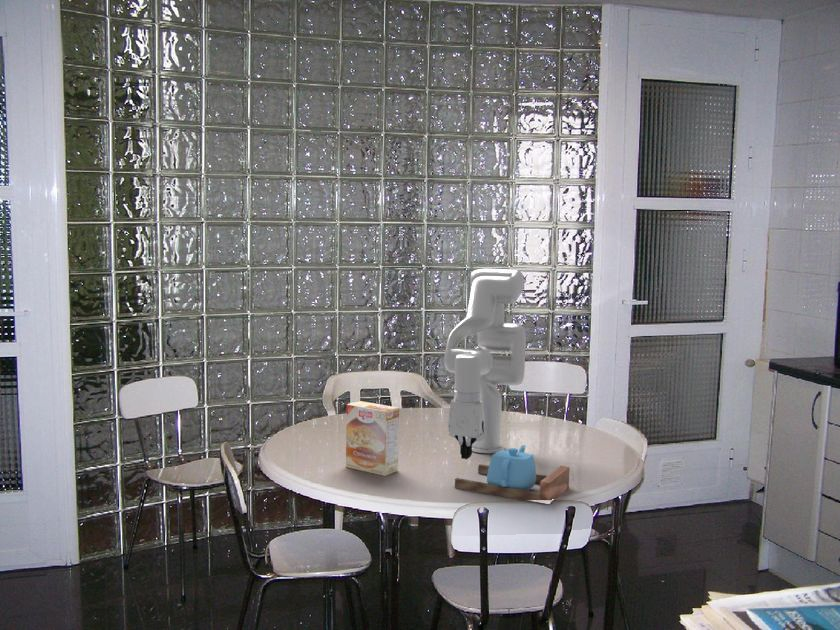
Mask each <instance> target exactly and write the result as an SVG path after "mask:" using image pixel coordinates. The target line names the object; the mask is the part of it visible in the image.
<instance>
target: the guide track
mask: <svg viewBox="0 0 840 630" xmlns="http://www.w3.org/2000/svg"><path fill="white" fill-rule="evenodd" d="M489 465H490V464H489ZM489 465H487V464H481V463H479V464H478V465H477V467H478V468H477V469H478V470H477V471H478V472H477V473H478V474H482V475H487V474H488V468H489ZM535 484H539V486H540V487H539V492H538V491H532V490H529V491H527V490H522V489H516V488H510V487H502V486H499V485H494V484H488V483H487V482H482V481H477V480H472V479H471V480H470V479H464V478H461V477H460V478H459V477H456V478H454V488H456V489H460V490H466V491H471V492H477V493H482V494H485V495H486V494H487V495H493V496H498V497H503V498H509V499H515V500H520V501H524V500H552V499H555V500H556V499H557V498H559V496H561V495H562V494H563V493H564V492H565V491H567V490H568V489H569V488H570V487H569V485H570V466H565V465H560V466H558V467H557V468H556V469H555V470H553V471H552V472H550V474H547V475H546V474H541V473H536V482H535Z"/></svg>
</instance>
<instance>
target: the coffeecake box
mask: <svg viewBox="0 0 840 630" xmlns="http://www.w3.org/2000/svg"><path fill="white" fill-rule="evenodd" d="M345 430H346V431H345V432H346V434H345V435H346V437H345V438H346V439H345V467H346V468H347V469H353V470H357V471H361V472H366V473H370V474H374V475H378V476H383V477H386V476H390V475H391V474H393V473H396V472H398V471H399V444H400V443H399V442H400V441H399V434H400V407H397V406H392V405H391V406H390V405H386V404H379V403H373V402H368V401H362V400H359V401H354V402H349V403H346V429H345Z"/></svg>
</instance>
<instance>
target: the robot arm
mask: <svg viewBox="0 0 840 630" xmlns="http://www.w3.org/2000/svg"><path fill="white" fill-rule="evenodd" d="M470 285H471V287H470V294H469V298H468V305H467V311H466V316H465V317H464V319H462V320H461V321H460V322H459V323H457V325H455V327H453V329H452V330H451V332H450V333H449V335H448V338H447V340H446V344H445V345H446V346H445V349H444V350H445V351H444V357H443V359H444V360H443V365H444V368H445V370H446V371H448V372H449V373H454V389H453V390H450V392H449V395H450V396H453V398H452V400H451V401H450V405H449V410H448V418H447V432H448V435H449V436H450V437H452V438H455V440H456V441H457V442H458V444H459V447H460V449H459V450H460V451H459V452H460V456H461V459H463V460H469V458H471V456H472V454H473V453H479V454H495V453H496V452H498V451H500V450H505V447H506V446H505V445H504V444H503V443H501V433H502V432H501V427H502V403H503V401H502V399H503V397H502V395H501V393H500V391H499V389H498V388H497V387H496V385H497V386H498V385H499V386H500V385H501V386H502V385H503V386H519V385H521V384H523V382H524V378H525V365H526V350H527V349H526V347H527V334H526V330H525V327H524V326H523V325H522V324H519V323H516V322H515V323H513V322H505V313H506V312H505V310H506V308H505V306H504V304H506V305H509V304H510V305H511V304H514V303H515V304H516V302H517V300H518V299H519V297H520V295H521V294H522V292H523V289H524V285H525V278H524V275H523V273H522V272H521V270H518V269H509V268H503V269H502V268H479V269H475V270H473V271H472V272H471V274H470ZM474 334H477V345H478V347H479V348H468V347H467V348H465V347H458V346H459V344H460V343H461V342H462V341H463V340H464V339H466V338H467V337H469V336H472V335H474ZM490 351H492V352H501V353H502V352H503V353H504V352H506V353H509V354H511V356H510V355H500V354H499V355H498V354H497V355H496V354H492V353H491V352H490Z"/></svg>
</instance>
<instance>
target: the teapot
mask: <svg viewBox="0 0 840 630" xmlns="http://www.w3.org/2000/svg"><path fill="white" fill-rule="evenodd" d="M525 450H526V445H525V444H523V445H521V446H520V447H519V449H518V448H516V447H510V448H508V450H500V451H498V452H496V453H492V454H491V455H492V456H491V458H490V462H489V468H488V474H487V476H486V483H488V484H494V485H499V486H502V487H510V488H516V489H522V490H527V491H531V489H532V488H533V487H534V486H535V484H536V483H535V482H536V474H537V467H536V461H535V457H534V455H533V454H532V453H527V452H525Z"/></svg>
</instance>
